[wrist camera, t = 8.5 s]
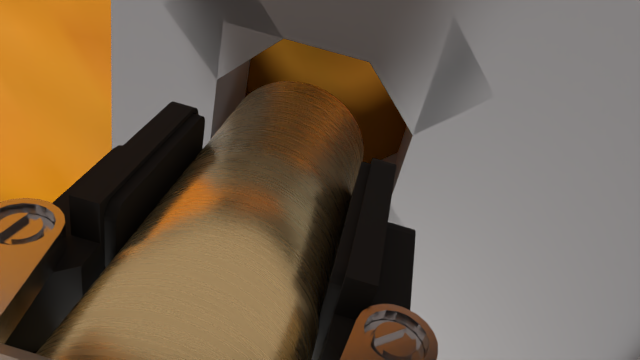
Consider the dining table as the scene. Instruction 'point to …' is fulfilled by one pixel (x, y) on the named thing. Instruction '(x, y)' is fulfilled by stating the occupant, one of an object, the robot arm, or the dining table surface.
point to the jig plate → (455, 147)
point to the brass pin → (231, 243)
